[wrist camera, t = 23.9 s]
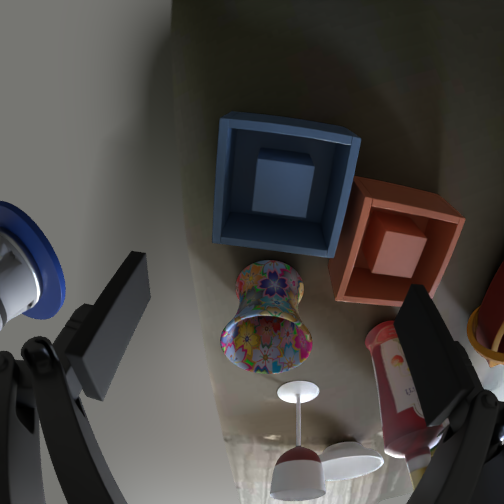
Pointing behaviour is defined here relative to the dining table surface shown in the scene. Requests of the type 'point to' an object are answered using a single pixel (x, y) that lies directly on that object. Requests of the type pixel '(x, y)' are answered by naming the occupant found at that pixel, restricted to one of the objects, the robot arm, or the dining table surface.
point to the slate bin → (243, 178)
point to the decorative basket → (489, 322)
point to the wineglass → (298, 454)
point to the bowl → (349, 461)
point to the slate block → (282, 182)
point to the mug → (267, 320)
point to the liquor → (400, 403)
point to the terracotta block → (393, 244)
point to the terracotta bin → (355, 228)
